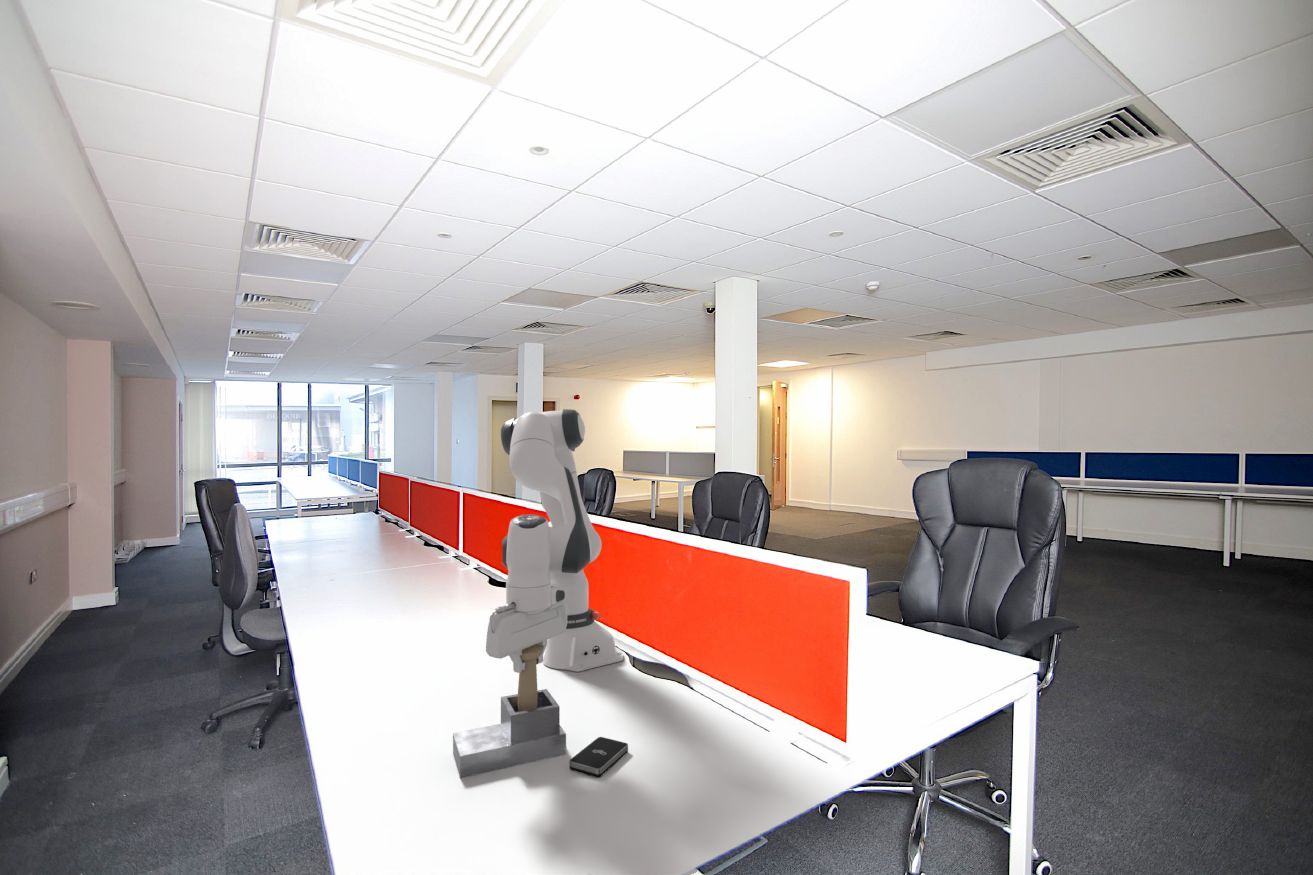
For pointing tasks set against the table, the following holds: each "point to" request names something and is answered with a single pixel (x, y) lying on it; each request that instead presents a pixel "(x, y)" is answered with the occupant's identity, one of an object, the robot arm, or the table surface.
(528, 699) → the handle
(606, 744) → the external hard drive
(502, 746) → the duct
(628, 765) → the table surface
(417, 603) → the table surface
